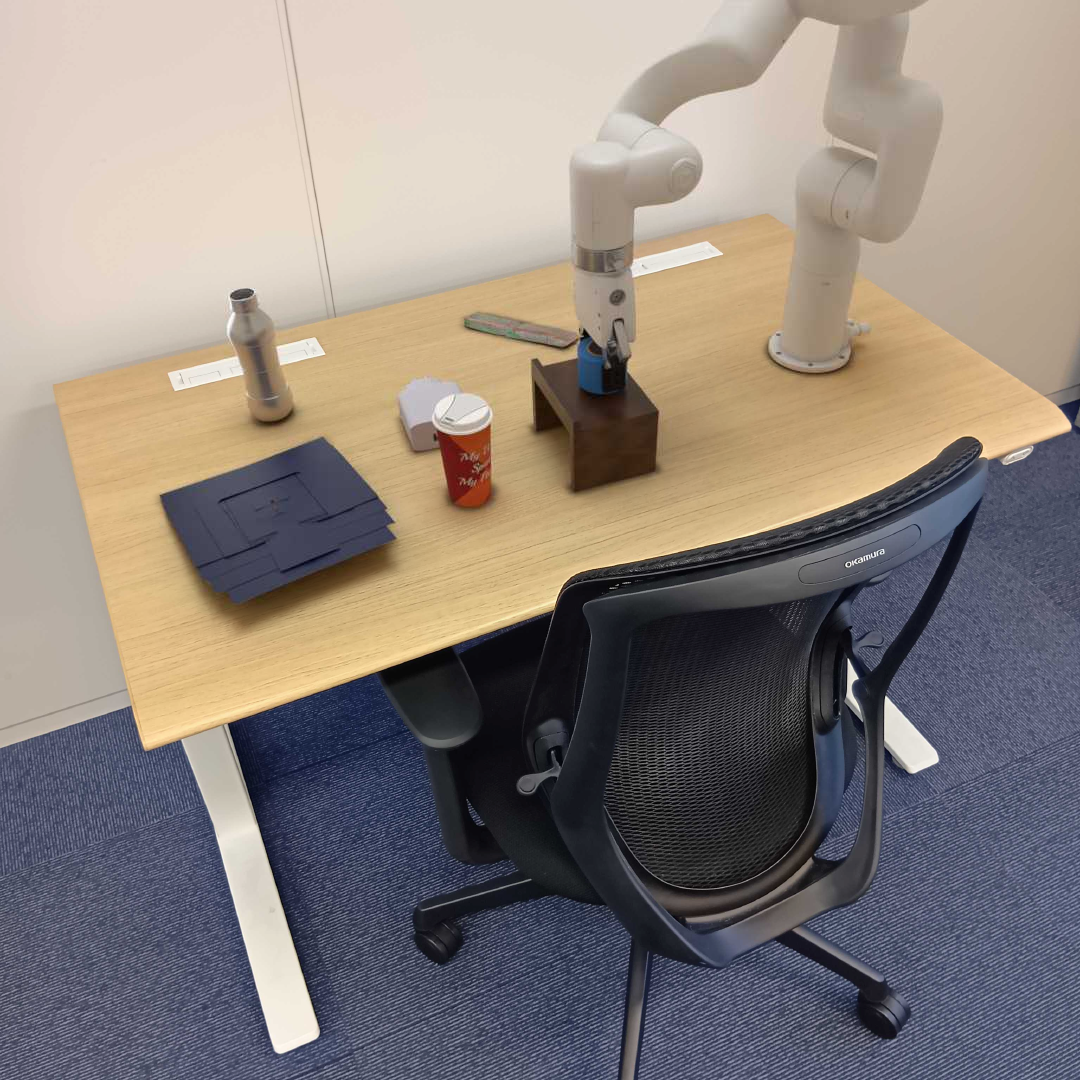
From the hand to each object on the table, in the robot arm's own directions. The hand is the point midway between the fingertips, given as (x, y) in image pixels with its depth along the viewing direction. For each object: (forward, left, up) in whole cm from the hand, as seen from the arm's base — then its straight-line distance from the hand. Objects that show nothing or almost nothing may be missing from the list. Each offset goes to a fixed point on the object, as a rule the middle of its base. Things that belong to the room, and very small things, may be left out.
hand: (602, 374), depth 131 cm
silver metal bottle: (+42, -26, -12) cm, 51 cm away
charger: (+20, -16, -12) cm, 29 cm away
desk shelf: (+1, 0, -12) cm, 12 cm away
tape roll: (0, 0, -1) cm, 1 cm away
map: (0, -34, -12) cm, 36 cm away
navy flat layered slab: (+45, 0, -12) cm, 47 cm away
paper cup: (+20, +3, -12) cm, 24 cm away
